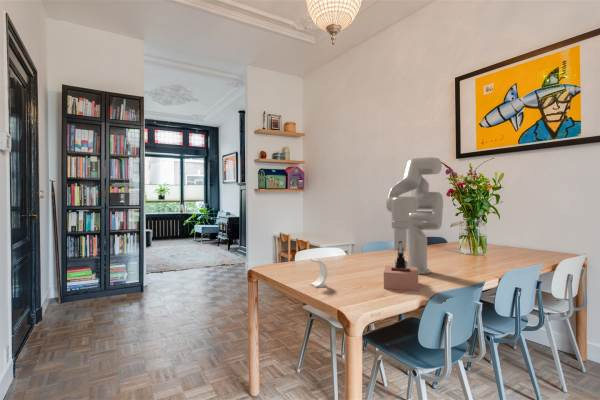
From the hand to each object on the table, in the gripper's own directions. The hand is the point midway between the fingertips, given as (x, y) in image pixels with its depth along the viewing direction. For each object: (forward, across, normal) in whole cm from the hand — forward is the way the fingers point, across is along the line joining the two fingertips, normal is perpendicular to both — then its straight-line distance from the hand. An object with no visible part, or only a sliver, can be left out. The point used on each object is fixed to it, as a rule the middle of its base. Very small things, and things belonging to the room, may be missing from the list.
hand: (400, 265), depth 144 cm
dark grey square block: (+1, 0, 0) cm, 1 cm away
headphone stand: (+9, +10, -35) cm, 37 cm away
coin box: (+9, 0, 0) cm, 9 cm away
